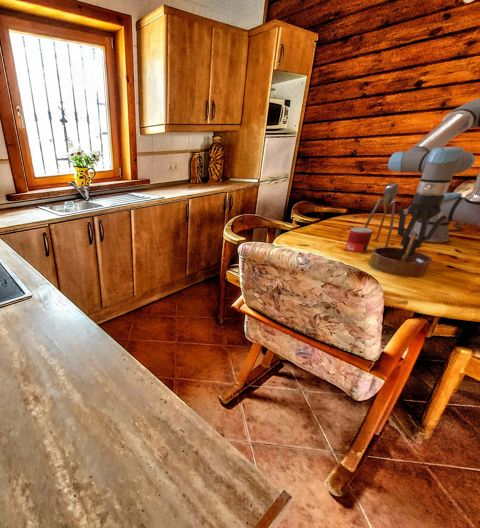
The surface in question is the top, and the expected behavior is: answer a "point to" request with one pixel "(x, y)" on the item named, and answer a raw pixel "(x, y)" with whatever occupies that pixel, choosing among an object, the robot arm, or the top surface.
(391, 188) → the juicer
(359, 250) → the canned food
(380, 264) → the bowl
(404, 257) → the wooden spoon
